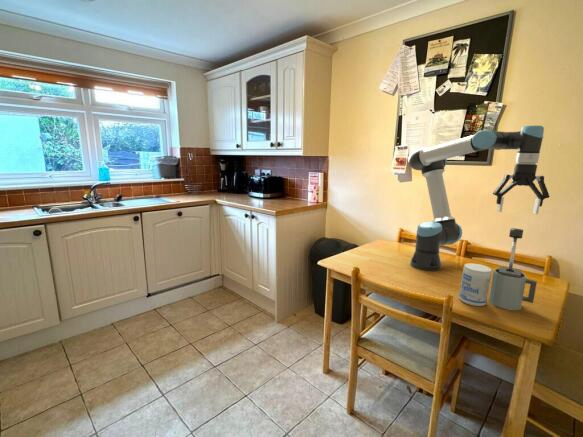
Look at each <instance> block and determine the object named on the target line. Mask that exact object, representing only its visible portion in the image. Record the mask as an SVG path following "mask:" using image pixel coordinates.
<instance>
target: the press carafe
mask: <svg viewBox="0 0 583 437" xmlns="http://www.w3.org/2000/svg"><path fill="white" fill-rule="evenodd" d="M508 268H509V266H504V265H499V267H495V268H493V270H492V271H493V272H492V276H491V283H490V284H491V285H490V289H489V296H488V302H489V303H490V304H491V305H493V306H494V307H497V308H500V309H504V310H508V311H518V310H521V309H522V304H523V302H526V303H530V304H533V303H534V298H535V295H536V294H535V293H536V289H537V283H538V281H537V280H536V279H535V280H534V279H530V278H527V274H526V273H523V272H522V269H519V268H516V267H515V268H514V267H513V268H512V272H510V271H508ZM505 275H507V276H505ZM509 276H512V277H509ZM526 284H527V285H528V284H529V290H528V295H527V296H524V293H525V289H526V288H525V287H526Z"/></svg>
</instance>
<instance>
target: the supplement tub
mask: <svg viewBox="0 0 583 437" xmlns="http://www.w3.org/2000/svg"><path fill="white" fill-rule="evenodd" d="M492 271H493V270H492V269H491V267H489V266H487V265H484V264H479V263H471V262H470V263H464V266H463V268H462V274H461V281H460V287H459V288H460V289H459V294H458V295H459V296H458V297H459V299H460V301H461V302H463V303H465V304H467V305H470V306H475V307H484V306H485V305H486V304H487V303H488V302H487V301H488V297H489V292H490V286H491V285H490V284H491V280H492Z"/></svg>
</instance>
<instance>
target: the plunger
mask: <svg viewBox="0 0 583 437" xmlns="http://www.w3.org/2000/svg"><path fill="white" fill-rule="evenodd" d="M508 234H509V236H508V237H509V238H513V239H512V245H511V251H510V258H509V264H508V267H509V268H508V271H510V272H512V268H514V260H515V255H516V249H517V243H518V242H517V241H518V239H523V234H524V229H521V228H514V227H512V228H509V233H508ZM505 276H507V275H505ZM509 277H512V276H509Z"/></svg>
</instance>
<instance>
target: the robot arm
mask: <svg viewBox="0 0 583 437" xmlns="http://www.w3.org/2000/svg"><path fill="white" fill-rule="evenodd" d="M544 131H545V127H544V126H542V125H525V126H522V127H521V130H520V131H499V130H497V131H496V130H489V129H484V130H483V129H482V130H478V131H477V132H476V133H475V134H473V135H469V136H464V137H462V138H458V139H455V140H451V141H448V142H445V143H442V144H441V143H440V144H438V145H435V146H432V147H426V146H425V147H421V148H418V149H414V150H412V151H411V153H410V154H409V156H408V158H407V159H408V161H407V162H408V165H409V167H411V169H413V170H415V171H421V174H422V175H421V176H422V177H424V178H425V182H426V185H427V192H428V195H429V196H428V197H429V200H430V206H431V211H432V214H433V215H432V216H433V220H432V221H424V222H422V223H421V222H420V223H419V224H418V225H417V228H416V238H415V239H416V240H415V249H414V252H413V255H412V257H411V260H410V266H412V267H413V268H416V269H419V270H421V271H433V272H436V271H440V270H441V269H442V261H441V256H440V249H441V248H440V247H441V246H447V245H449V246H450V245H453V244H455V243H458V242H459V241H460V240H461V239H462V238H463V229H462V227H461V225H459V224H458V223H457V222H456V218H455V217H453V216H452V213H451V210H450V205H449V201H448V200H449V199H448V194H447V190H446V186H445V185H446V184H445V181H444V176H443V174H444V172H445V167H446V165H447V162H448V160H447V159H451V158H455V157H460V156H464V155H467V154H471V153H476V152H481V151H485V150H490V149H491V150H497V151H500V150H517V152H516V159H515V165H514V170H513V174H507V173H506V174H504V176H503V179H502V180H501V182H500V183H499V184H498V186H497V187H496V188H495V190H494V191H493V192H492V195H494V196H496V202H495V203H496V204H497V212H498V213H502V212H503V205H504V201H505V197H504V195H506V194H507V193H509V192H510V191H511V190H512V189H513V188H514V187H517V186H521V187H522V186H525V187H528V188H529V189H531V191H532V192H533V193H534V195H535V196H536V197H537V198H535V200H534V204H533V210H532V214H534V215H539V209H540V207H543V203H544V200H545V199H549V198H550V194H549V191H548V188H547V186H546V183H545V176H544V175H536V174H537V170H538V169H537V168H538V165H537V164H538V163H539V158H540V153H541V148H542V145H543V144H542V143H543V138H544ZM511 179H512V181H511ZM509 181H510V183H509V184H508V185H507V186H506V184H507V183H508V182H509ZM534 181H536V182H537V184H538V187H539V188H538V187H537V185H536V184H535V182H534ZM539 189H540V190H539Z"/></svg>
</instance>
